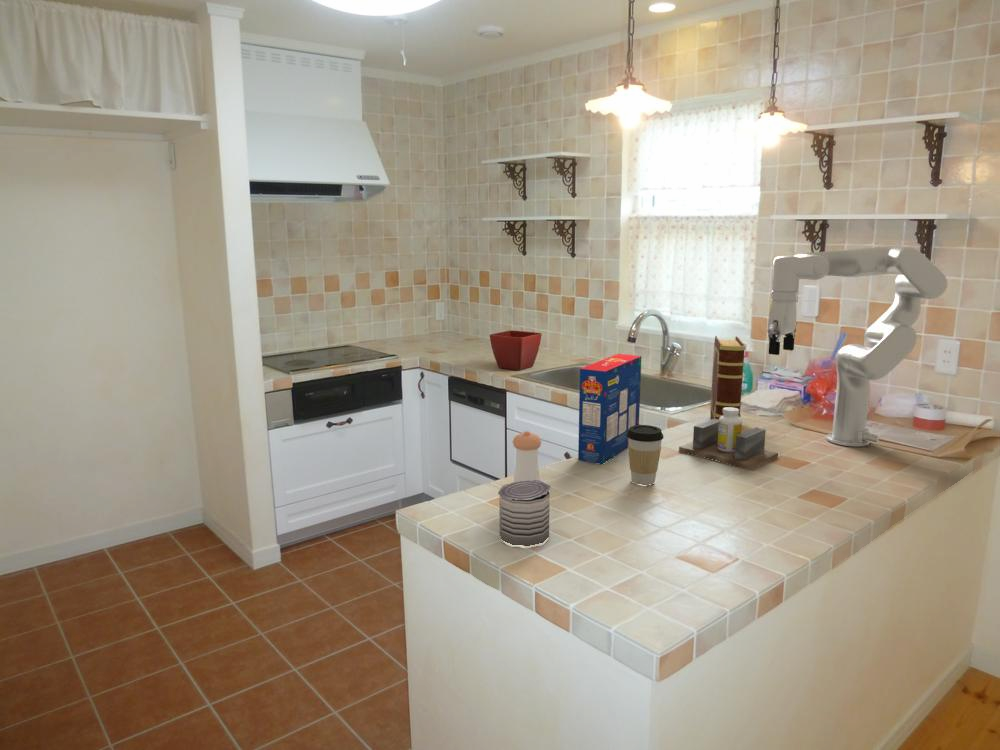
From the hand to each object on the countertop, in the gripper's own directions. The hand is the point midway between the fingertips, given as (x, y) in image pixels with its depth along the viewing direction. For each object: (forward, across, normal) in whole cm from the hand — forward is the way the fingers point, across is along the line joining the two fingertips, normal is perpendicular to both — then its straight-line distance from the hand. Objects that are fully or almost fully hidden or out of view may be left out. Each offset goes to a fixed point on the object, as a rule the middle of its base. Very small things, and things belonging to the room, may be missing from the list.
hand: (781, 352), depth 218 cm
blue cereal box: (+29, +42, -34) cm, 61 cm away
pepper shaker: (+28, +92, -21) cm, 99 cm away
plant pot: (+29, -29, -146) cm, 152 cm away
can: (+28, +106, -8) cm, 110 cm away
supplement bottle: (+28, +20, -5) cm, 35 cm away
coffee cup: (+29, +58, -10) cm, 66 cm away
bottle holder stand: (+30, +20, -6) cm, 36 cm away
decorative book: (+30, -8, -22) cm, 38 cm away
